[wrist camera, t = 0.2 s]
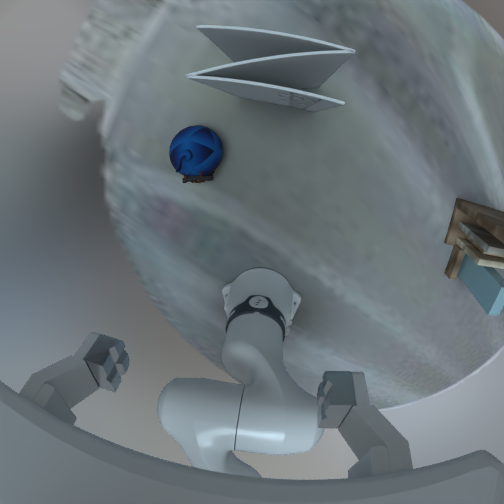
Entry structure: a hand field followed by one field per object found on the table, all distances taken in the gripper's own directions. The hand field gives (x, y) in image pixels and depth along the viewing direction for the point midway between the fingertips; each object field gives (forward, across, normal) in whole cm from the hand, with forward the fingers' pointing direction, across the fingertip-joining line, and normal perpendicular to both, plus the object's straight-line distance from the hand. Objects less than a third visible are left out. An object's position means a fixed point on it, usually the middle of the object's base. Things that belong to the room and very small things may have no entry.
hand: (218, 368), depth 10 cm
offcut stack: (+47, +50, -9) cm, 69 cm away
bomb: (+48, -14, +1) cm, 51 cm away
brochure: (+48, 0, +14) cm, 50 cm away
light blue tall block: (+48, +51, -16) cm, 72 cm away
